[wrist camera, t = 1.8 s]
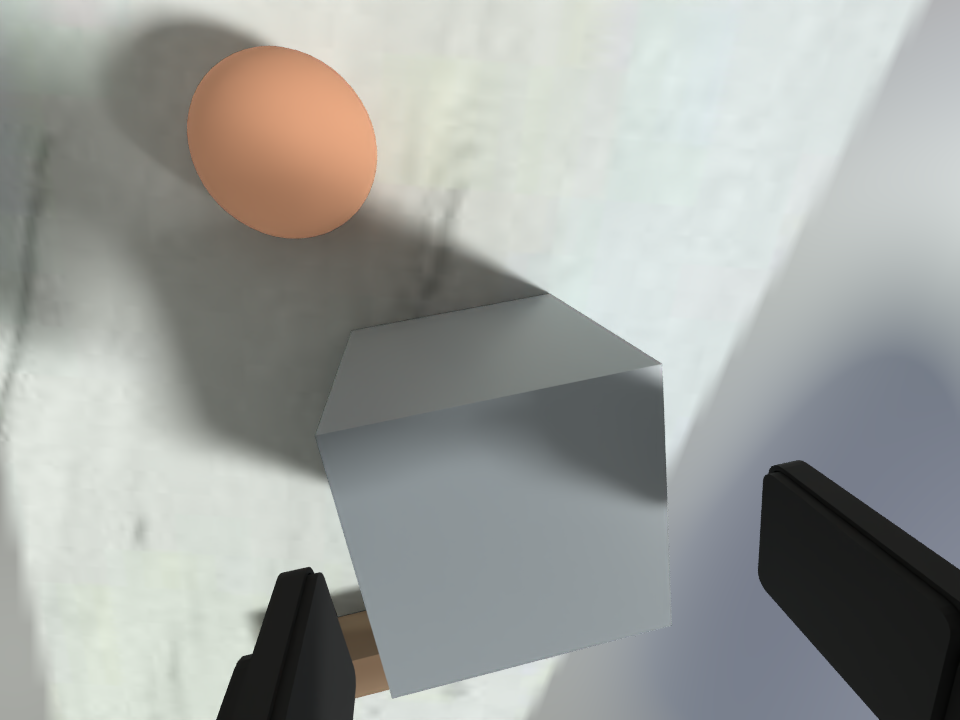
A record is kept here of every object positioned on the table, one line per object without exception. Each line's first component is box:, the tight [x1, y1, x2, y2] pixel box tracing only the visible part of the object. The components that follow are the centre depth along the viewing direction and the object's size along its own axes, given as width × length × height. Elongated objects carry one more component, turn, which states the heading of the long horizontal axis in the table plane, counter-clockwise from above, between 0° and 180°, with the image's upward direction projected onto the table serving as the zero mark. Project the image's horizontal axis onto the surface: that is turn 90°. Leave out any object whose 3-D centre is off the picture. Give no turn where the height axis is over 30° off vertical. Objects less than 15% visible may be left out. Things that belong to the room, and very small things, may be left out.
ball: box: [187, 46, 377, 239], centre depth 14 cm, size 5×5×5 cm
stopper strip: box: [338, 611, 389, 698], centre depth 22 cm, size 2×8×2 cm, turn 99°
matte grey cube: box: [315, 294, 672, 699], centre depth 16 cm, size 8×8×9 cm
